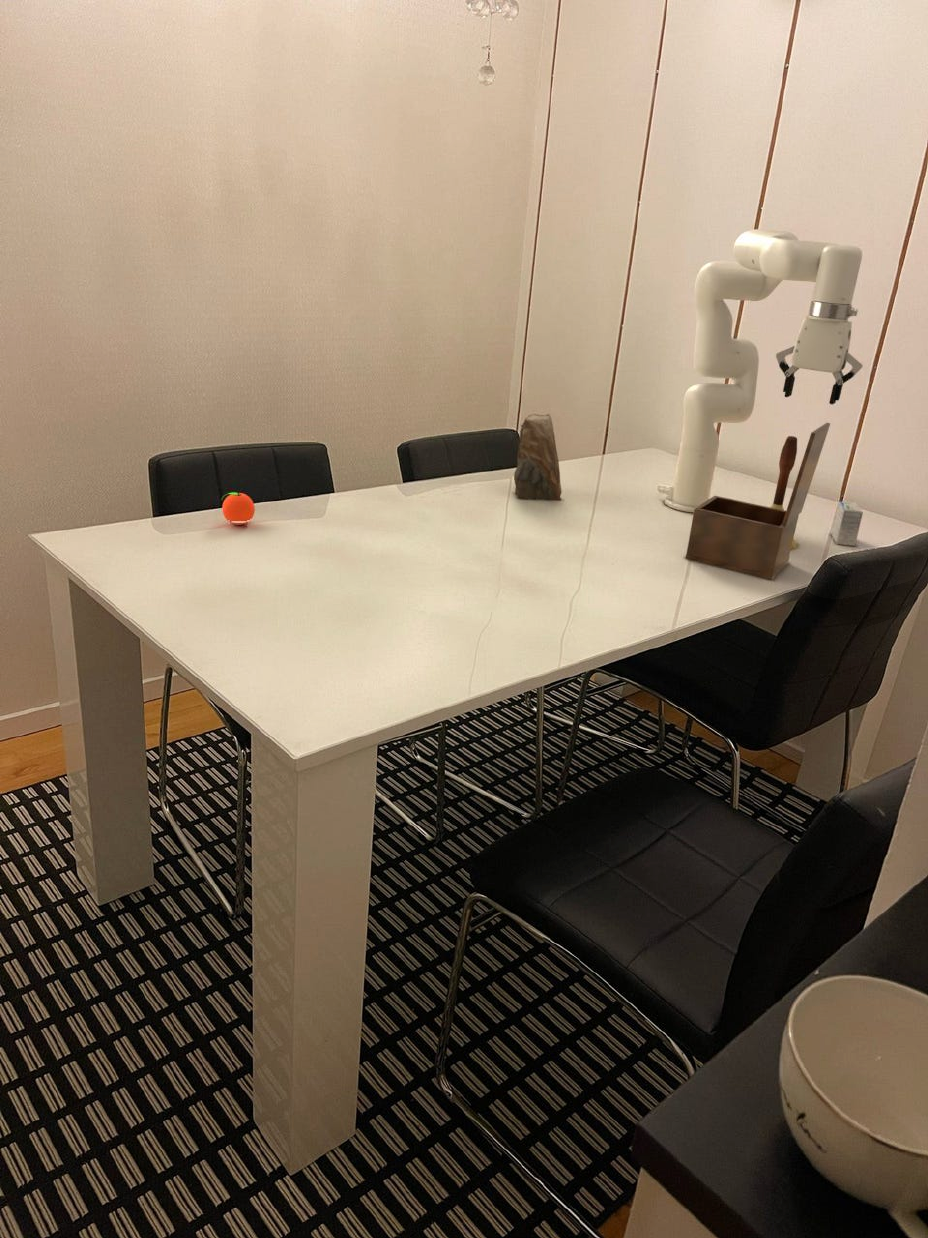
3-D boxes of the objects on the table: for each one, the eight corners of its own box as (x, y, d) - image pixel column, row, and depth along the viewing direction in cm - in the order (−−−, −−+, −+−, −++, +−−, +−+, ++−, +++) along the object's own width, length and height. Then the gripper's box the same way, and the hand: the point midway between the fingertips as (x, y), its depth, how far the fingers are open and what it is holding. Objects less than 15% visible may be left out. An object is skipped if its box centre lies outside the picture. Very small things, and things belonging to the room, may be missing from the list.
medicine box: (855, 546, 223) (864, 512, 220) (835, 544, 224) (844, 509, 220) (849, 536, 230) (857, 502, 227) (830, 534, 231) (838, 500, 228)
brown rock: (514, 499, 238) (521, 421, 230) (504, 485, 250) (511, 410, 242) (561, 500, 241) (571, 423, 233) (550, 486, 252) (558, 412, 244)
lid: (811, 432, 184) (815, 433, 184) (826, 422, 195) (830, 423, 195) (781, 525, 193) (785, 526, 193) (797, 511, 204) (801, 512, 204)
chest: (685, 558, 206) (694, 508, 202) (705, 543, 217) (714, 495, 213) (771, 580, 198) (782, 528, 193) (787, 562, 209) (799, 513, 204)
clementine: (212, 524, 204) (210, 492, 201) (230, 516, 210) (229, 485, 207) (243, 531, 201) (242, 499, 198) (261, 522, 207) (260, 491, 204)
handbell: (759, 529, 230) (780, 428, 220) (806, 543, 223) (830, 439, 212) (733, 538, 222) (754, 433, 212) (780, 553, 214) (804, 445, 204)
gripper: (878, 316, 185) (857, 404, 192) (789, 306, 193) (772, 391, 200) (871, 318, 179) (849, 409, 186) (780, 307, 187) (763, 395, 194)
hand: (809, 399), depth 193 cm, fingers open, 8 cm apart
